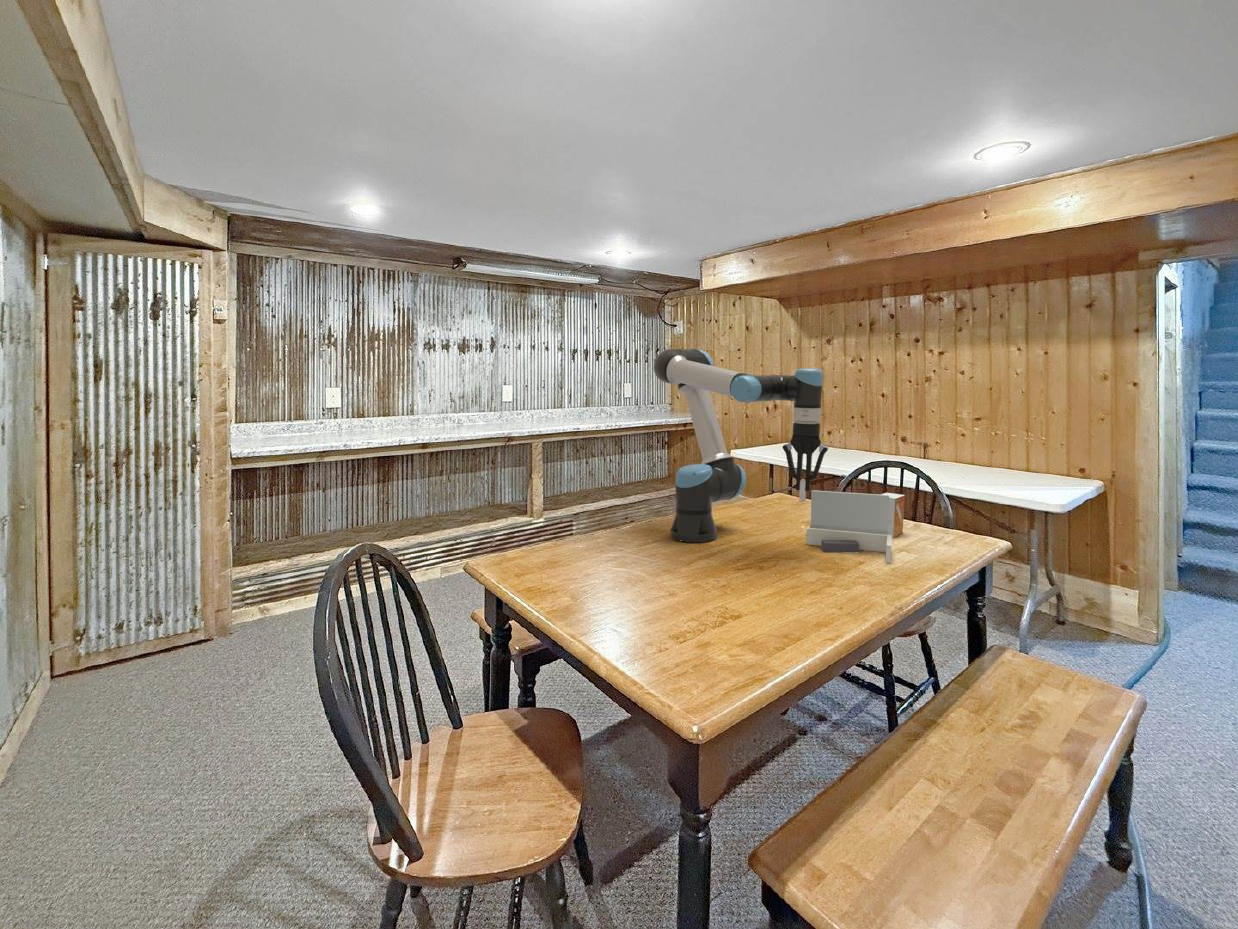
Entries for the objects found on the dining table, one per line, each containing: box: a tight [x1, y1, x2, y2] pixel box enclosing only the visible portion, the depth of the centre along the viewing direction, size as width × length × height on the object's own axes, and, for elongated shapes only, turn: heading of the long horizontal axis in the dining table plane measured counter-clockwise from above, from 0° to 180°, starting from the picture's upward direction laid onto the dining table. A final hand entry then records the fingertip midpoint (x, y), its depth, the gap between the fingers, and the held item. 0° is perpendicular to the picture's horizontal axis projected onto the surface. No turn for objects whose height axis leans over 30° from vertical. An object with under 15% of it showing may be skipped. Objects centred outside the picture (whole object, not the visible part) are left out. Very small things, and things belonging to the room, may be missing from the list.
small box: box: [879, 492, 906, 539], centre depth 192 cm, size 8×6×13 cm
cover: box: [809, 490, 889, 535], centre depth 175 cm, size 22×12×1 cm
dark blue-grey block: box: [820, 540, 860, 553], centre depth 175 cm, size 10×4×3 cm, turn 82°
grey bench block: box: [805, 527, 893, 564], centre depth 174 cm, size 24×14×5 cm, turn 65°
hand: (802, 501), depth 174 cm, fingers closed
